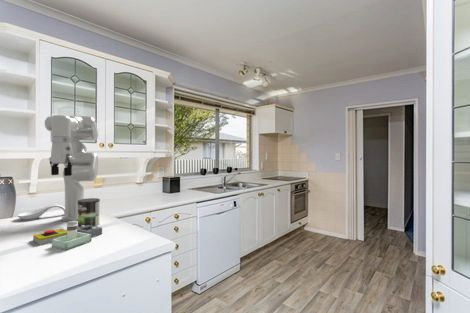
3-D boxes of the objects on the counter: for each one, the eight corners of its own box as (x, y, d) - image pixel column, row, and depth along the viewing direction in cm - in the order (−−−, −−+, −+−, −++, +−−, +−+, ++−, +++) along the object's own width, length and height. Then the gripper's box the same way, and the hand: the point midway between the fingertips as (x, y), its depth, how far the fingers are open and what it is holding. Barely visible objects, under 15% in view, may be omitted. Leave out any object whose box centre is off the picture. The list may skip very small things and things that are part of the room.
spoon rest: (15, 223, 136) (15, 210, 136) (19, 218, 146) (19, 206, 146) (66, 217, 149) (66, 205, 149) (67, 213, 159) (67, 202, 159)
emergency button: (28, 232, 107) (67, 224, 119) (28, 242, 107) (67, 233, 119) (35, 237, 101) (75, 228, 114) (35, 247, 101) (75, 237, 114)
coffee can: (86, 229, 124) (86, 202, 124) (73, 227, 128) (73, 200, 128) (104, 224, 133) (104, 198, 133) (91, 222, 137) (91, 197, 137)
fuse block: (87, 231, 122) (87, 223, 122) (102, 233, 118) (102, 225, 118) (74, 235, 115) (74, 227, 115) (88, 238, 111) (88, 230, 111)
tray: (77, 238, 111) (77, 231, 111) (91, 241, 108) (91, 234, 108) (51, 246, 101) (51, 239, 101) (66, 250, 98) (66, 242, 98)
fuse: (73, 240, 107) (73, 220, 107) (79, 241, 105) (79, 221, 105) (64, 243, 103) (64, 222, 103) (70, 244, 102) (70, 223, 102)
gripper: (80, 140, 119) (80, 175, 119) (58, 141, 126) (58, 174, 126) (65, 140, 112) (65, 176, 112) (41, 140, 119) (42, 175, 119)
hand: (61, 175), depth 119 cm, fingers open, 9 cm apart
